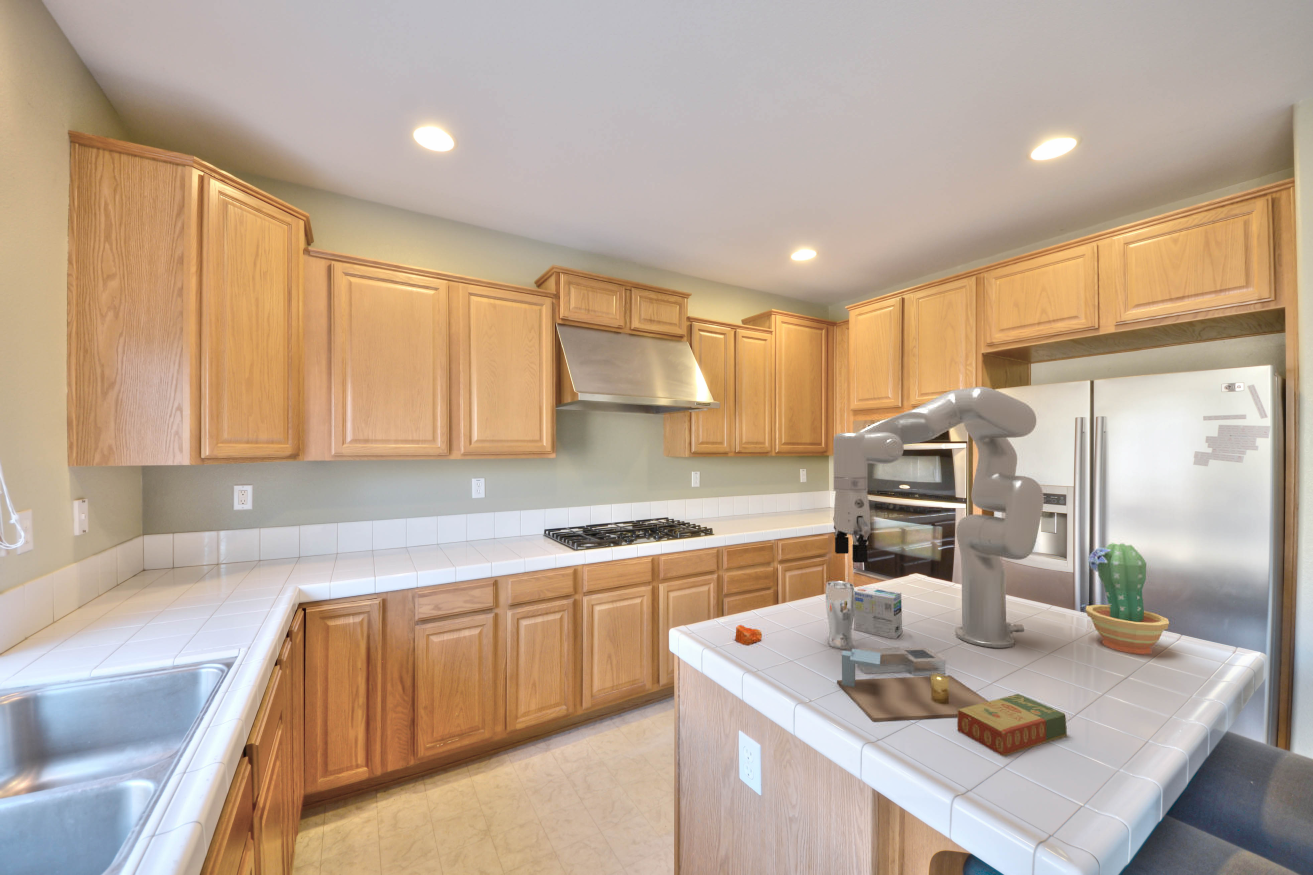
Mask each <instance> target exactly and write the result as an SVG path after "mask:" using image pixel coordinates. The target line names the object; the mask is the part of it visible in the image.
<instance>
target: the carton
mask: <svg viewBox="0 0 1313 875" xmlns="http://www.w3.org/2000/svg"><path fill="white" fill-rule="evenodd" d="M988 701H989V700H988ZM956 724H957V726H956V727H957V731H958V732H959V733H961V734H963V735H965V736H967V737H968V738H970V739H972V740H974V741H975V742H977V743H979V744H981V745H983V746H984V747H986V748H988V749H989V750H991V751H993V752H995V753H997V754H998V755H1000V756H1002V757H1004V756H1008V755H1011V754H1014V753H1018V752H1021V751H1024V750H1026V749H1030V748H1033V747H1036V746H1039V745H1042V744H1045V743H1048V742H1051V741H1055V740H1059V739H1062V738H1064V737H1067V735H1068V731H1067V729H1068V728H1067V716H1066V714H1065V712H1063V711H1060V710H1057V709H1055V708H1052V707H1050V706H1048V705H1046V704H1043V703H1040V702H1039V701H1036V700H1034V699H1031V698H1029V697H1027V696H1024V695H1023V694H1020V693H1017V694H1012V695H1009V696H1004V697H1001V698H997V699H994V700H990V701H989V702H985V703H981V704H977V705H974V706H970V707H966V708H962V709H958V717H957V723H956Z"/></svg>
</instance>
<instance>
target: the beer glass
mask: <svg viewBox="0 0 1313 875" xmlns="http://www.w3.org/2000/svg"><path fill="white" fill-rule="evenodd" d="M825 584H826V587H825V608H826V614H827V622H828V626H829V627H828V628H829V630H828V631H829V632H828V639H827V645H829V646H830V647H831V648H834V649H837V650H838V649H839V650H852V649H854V646H855V645H854V644H855V643H854V640H853V632H852V631H853V626H854V623H853V622H854V613H855V592H854V590H855V585H854V584H853V583H851V582H847V581H840V580H830V581H827V582H826V583H825Z"/></svg>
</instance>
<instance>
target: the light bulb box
mask: <svg viewBox="0 0 1313 875" xmlns="http://www.w3.org/2000/svg"><path fill="white" fill-rule="evenodd" d="M854 592H855V613H854V619H853V622H854V623H853V629H854V631H859V632H863V633H868V634H871V635H875V636H876V635H877V636H880V637H884V638H889V639H894V640H895V639H896V638H898V637H899V636H900V635H901V634H902V633H903V611H902V610H903V604H902V602H903V601H902V600H903V599H902V592H900V591H892V590H886V589H881V588H880V589H879V588H875V587H868V586H864V585H862V586H860V587H858V588H855V589H854Z"/></svg>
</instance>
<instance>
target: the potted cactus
mask: <svg viewBox="0 0 1313 875" xmlns="http://www.w3.org/2000/svg"><path fill="white" fill-rule="evenodd" d="M1087 560H1088V565H1089V567H1090V570H1094V571H1095V572H1096V573H1097V574H1098V578H1099V579H1100V581H1101V583H1102V584H1103V585H1102V586H1104V591H1105V594H1106V599H1107V602H1108V604H1093V605H1092V604H1091V605H1086V607H1085V612H1086V616H1087V617H1089V618H1090V619H1091V621H1092V624H1093V626H1094V629H1095V630H1096V632H1097V633H1098V634H1099V635H1100V637H1101V638H1102V644H1103V645H1105V647H1108V648H1111V649H1113V650H1117V651H1119V652H1124V653H1130V654H1133V655H1134V654H1135V655H1136V654H1138V655H1147V654H1149V655H1150V654H1152V648H1151V647H1153V646H1154V645H1156V643H1158V641H1159V640H1160V638H1161V636H1162V634H1163V632H1164V630H1165V631H1166V630H1168V629H1169V625H1170V622H1169V618H1166V617H1164V616H1162V615H1160V614H1157V613H1154V612H1151V611H1146V610H1145V609H1144V597H1143V588H1144V585H1145V582H1146V579H1147V562H1146V560H1145V558H1143V555H1141V553H1140V552H1138V550H1137V549H1136V548H1135V547H1134V546H1133V545H1132V544H1128V545H1127V544H1125V543H1120V544H1116V543H1113V542H1111V543H1109V544H1108V545H1107V546H1106V547H1098V548H1095V549H1094V550H1093V551H1092V552H1091V553H1090V554H1089V556H1088V559H1087Z"/></svg>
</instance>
